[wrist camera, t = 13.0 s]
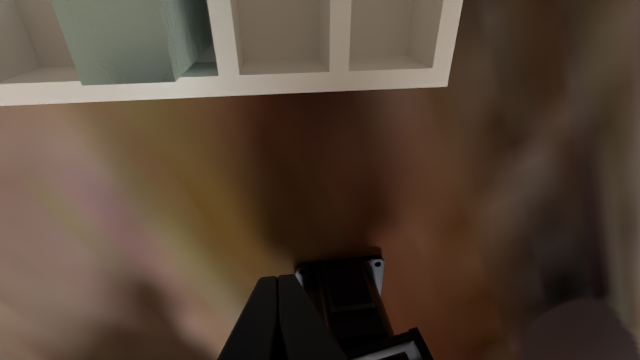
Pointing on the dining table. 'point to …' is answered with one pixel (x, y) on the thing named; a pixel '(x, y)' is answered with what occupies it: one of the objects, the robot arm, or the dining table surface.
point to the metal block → (133, 38)
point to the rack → (249, 51)
